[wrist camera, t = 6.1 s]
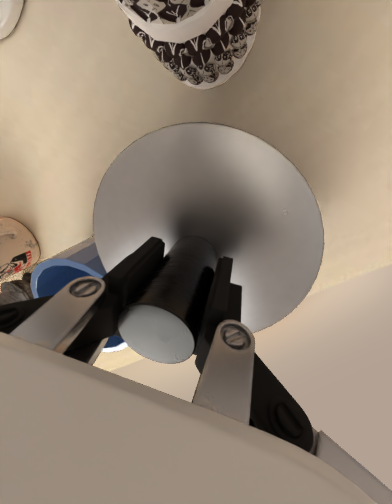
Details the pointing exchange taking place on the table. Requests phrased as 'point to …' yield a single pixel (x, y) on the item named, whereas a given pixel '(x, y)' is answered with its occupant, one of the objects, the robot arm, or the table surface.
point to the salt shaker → (16, 290)
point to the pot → (72, 276)
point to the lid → (206, 231)
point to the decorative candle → (196, 35)
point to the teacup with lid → (16, 247)
